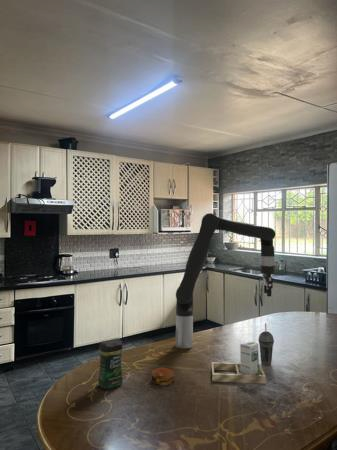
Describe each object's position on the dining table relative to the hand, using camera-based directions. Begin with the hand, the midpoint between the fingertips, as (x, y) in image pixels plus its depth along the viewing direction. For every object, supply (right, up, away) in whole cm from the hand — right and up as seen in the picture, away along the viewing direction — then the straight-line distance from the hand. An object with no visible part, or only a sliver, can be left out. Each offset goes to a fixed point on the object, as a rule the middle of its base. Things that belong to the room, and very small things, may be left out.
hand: (267, 294), depth 186 cm
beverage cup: (-7, -29, -21) cm, 37 cm away
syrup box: (-18, -29, -34) cm, 48 cm away
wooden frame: (-23, -29, -34) cm, 50 cm away
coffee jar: (-77, -29, -43) cm, 93 cm away
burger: (-56, -29, -39) cm, 74 cm away
